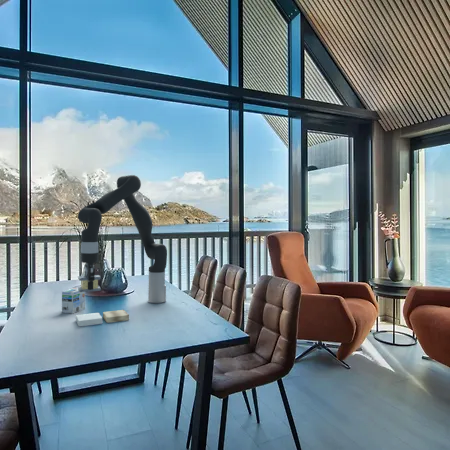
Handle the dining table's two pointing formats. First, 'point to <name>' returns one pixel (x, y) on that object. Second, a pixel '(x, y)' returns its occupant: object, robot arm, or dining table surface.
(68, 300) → the light bulb box
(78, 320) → the stand
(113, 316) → the stand
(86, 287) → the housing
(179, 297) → the dining table surface
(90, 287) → the robot arm
